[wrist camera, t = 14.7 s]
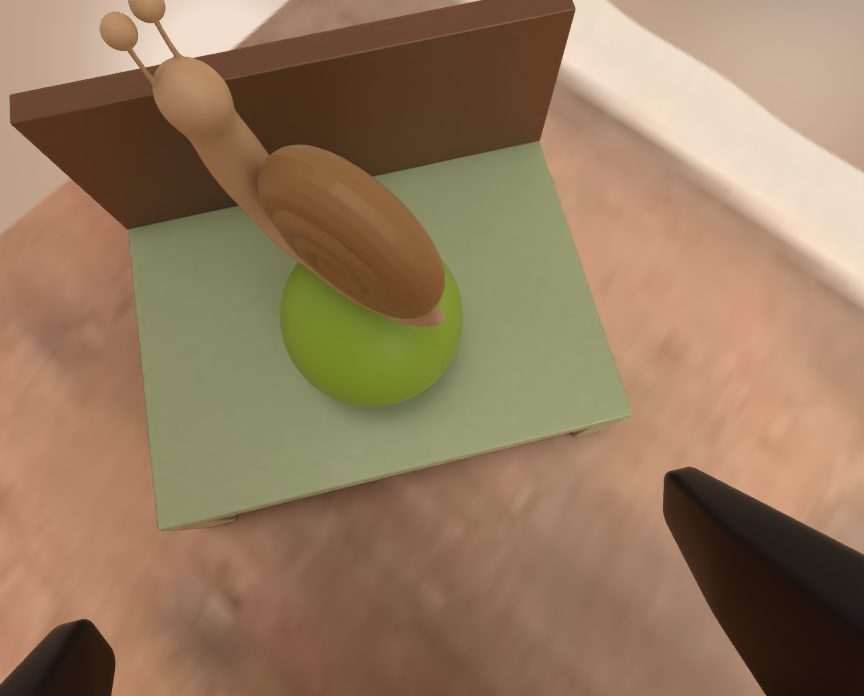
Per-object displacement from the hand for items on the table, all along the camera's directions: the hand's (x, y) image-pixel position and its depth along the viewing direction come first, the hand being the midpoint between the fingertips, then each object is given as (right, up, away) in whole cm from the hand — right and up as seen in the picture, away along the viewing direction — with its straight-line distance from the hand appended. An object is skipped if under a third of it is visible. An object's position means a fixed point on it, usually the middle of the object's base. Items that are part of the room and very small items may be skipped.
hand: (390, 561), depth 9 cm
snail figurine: (-1, +4, +11) cm, 12 cm away
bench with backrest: (-2, +4, +15) cm, 16 cm away
